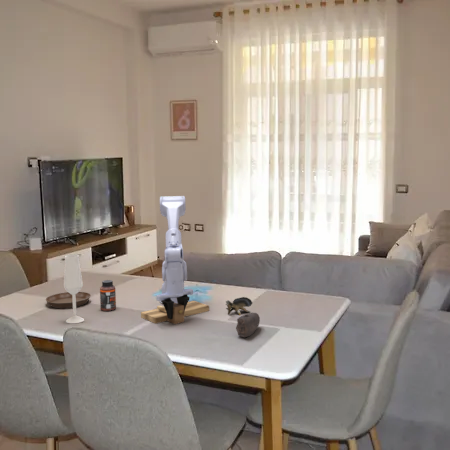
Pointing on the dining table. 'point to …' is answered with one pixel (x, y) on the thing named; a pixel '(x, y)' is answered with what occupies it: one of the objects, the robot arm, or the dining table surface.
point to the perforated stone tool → (247, 324)
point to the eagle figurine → (238, 304)
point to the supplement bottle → (107, 296)
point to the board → (161, 316)
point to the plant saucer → (67, 299)
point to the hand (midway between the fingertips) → (175, 317)
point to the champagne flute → (73, 282)
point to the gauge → (175, 313)
